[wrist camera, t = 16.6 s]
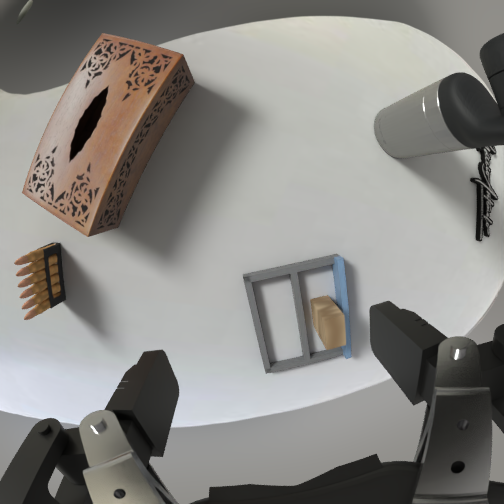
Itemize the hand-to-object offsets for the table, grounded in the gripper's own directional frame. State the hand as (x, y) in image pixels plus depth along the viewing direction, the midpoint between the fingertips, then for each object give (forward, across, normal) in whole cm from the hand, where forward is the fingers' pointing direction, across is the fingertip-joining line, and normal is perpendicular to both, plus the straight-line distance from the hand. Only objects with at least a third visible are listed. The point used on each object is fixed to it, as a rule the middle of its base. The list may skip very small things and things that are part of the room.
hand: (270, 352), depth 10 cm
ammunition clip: (+32, +35, -1) cm, 48 cm away
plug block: (+32, -9, +15) cm, 37 cm away
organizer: (+32, -6, +15) cm, 36 cm away
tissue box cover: (+33, +17, -20) cm, 42 cm away
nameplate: (+33, -51, -3) cm, 61 cm away
